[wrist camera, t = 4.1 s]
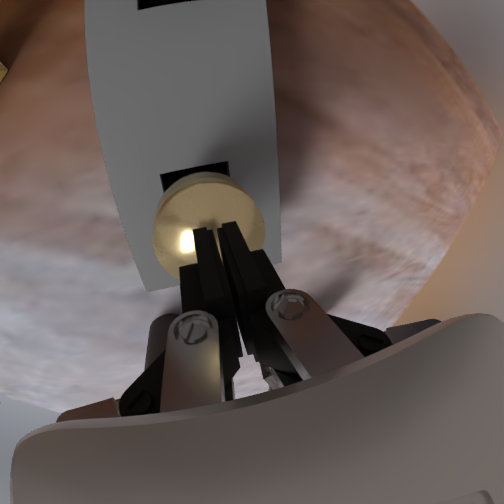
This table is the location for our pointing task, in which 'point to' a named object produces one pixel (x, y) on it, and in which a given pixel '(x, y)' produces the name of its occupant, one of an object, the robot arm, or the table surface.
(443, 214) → the table surface
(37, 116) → the table surface
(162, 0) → the knob
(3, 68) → the candy box
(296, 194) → the table surface
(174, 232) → the knob
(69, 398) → the table surface
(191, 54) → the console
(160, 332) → the coffee cup
